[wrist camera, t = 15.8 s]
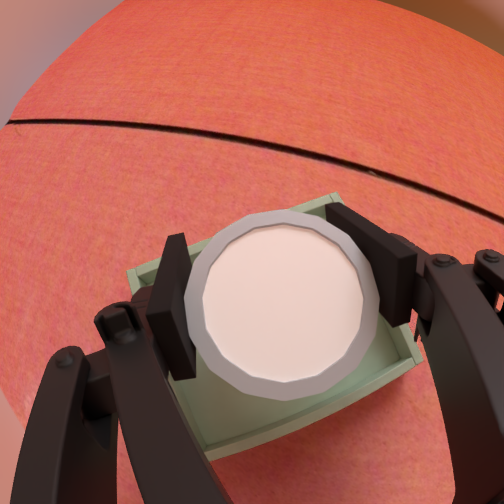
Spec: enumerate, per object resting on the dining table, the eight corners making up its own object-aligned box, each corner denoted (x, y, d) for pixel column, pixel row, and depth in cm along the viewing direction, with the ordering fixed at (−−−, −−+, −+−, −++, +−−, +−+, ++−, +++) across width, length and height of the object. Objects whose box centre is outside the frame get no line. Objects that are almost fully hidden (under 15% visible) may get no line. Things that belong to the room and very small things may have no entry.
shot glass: (353, 357, 16) (410, 346, 9) (237, 406, 15) (225, 431, 9) (305, 251, 18) (329, 185, 12) (195, 292, 18) (160, 244, 11)
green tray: (202, 455, 15) (195, 465, 12) (138, 281, 18) (125, 270, 16) (407, 362, 16) (424, 360, 14) (329, 208, 20) (337, 190, 18)
